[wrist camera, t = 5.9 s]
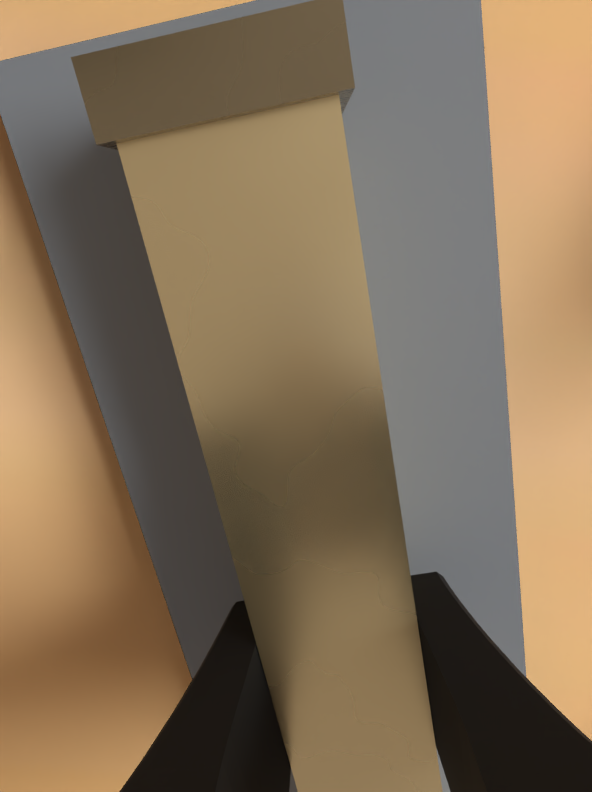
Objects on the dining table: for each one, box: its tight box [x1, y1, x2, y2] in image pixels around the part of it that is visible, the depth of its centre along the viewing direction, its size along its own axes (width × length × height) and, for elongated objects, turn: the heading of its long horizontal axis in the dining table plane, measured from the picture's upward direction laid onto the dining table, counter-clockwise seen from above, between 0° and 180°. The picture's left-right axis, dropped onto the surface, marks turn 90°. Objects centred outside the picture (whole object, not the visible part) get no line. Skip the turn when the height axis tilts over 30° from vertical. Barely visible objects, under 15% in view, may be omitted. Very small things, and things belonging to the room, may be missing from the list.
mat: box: [0, 0, 526, 792], centre depth 11 cm, size 20×7×1 cm, turn 11°
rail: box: [71, 0, 443, 792], centre depth 10 cm, size 18×3×3 cm, turn 11°
